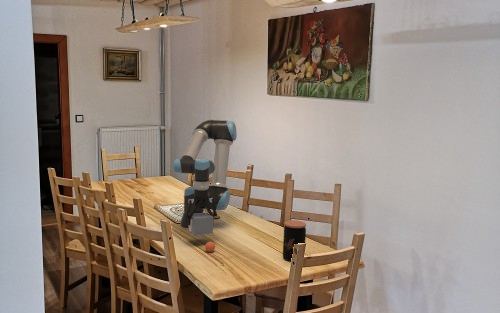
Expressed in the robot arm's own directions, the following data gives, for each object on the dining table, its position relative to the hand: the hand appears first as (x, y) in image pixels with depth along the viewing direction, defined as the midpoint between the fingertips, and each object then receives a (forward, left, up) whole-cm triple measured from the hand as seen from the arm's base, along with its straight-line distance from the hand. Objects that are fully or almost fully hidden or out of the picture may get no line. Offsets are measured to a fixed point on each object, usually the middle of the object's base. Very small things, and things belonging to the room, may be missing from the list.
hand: (200, 230), depth 251 cm
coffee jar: (+37, +35, -7) cm, 52 cm away
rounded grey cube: (0, 0, -1) cm, 1 cm away
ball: (+14, 0, -4) cm, 15 cm away
